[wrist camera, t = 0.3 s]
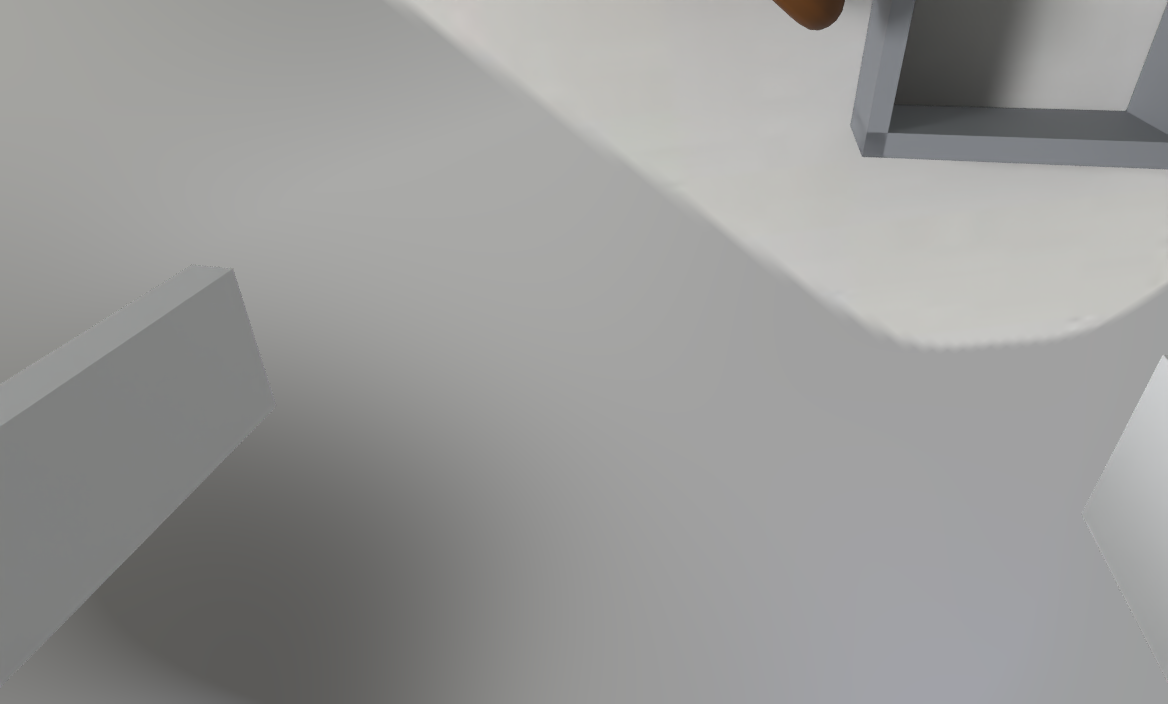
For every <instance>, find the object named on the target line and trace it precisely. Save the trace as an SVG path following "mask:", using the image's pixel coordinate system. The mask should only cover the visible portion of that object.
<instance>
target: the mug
mask: <svg viewBox="0 0 1168 704" xmlns="http://www.w3.org/2000/svg"><path fill="white" fill-rule="evenodd" d="M773 1H774V2H775V3H776V4H777V5H778V6H779V7H780V8H781V9H783V10H784V11H785V12H786V13H787V14H788V15H789V16H790V17H791V18H793V19H794V20H795V21H796V22H798V23H799V24H800V25H802V26H804V27H806V28H808V29H809V30H821V29H824V28H827V27H829V26H830V25H831V24H832V23H834V22H835V21H836V20H837V19H838V17H839V15H840V14H841V12H842V10H843V6H844V2H845V0H773Z"/></svg>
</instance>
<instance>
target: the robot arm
mask: <svg viewBox="0 0 1168 704" xmlns="http://www.w3.org/2000/svg"><path fill="white" fill-rule="evenodd" d="M275 407H276V403H275V400H274V397H273V393H272V390H271V387H270V384H269V381H268V378H267V375H266V371H265V368H264V365H263V362H262V359H261V356H260V352H259V349H258V346H257V343H256V340H255V337H254V334H253V330H252V327H251V324H250V321H249V318H248V315H247V311H246V308H245V305H244V302H243V299H242V296H241V292H240V289H239V286H238V283H237V280H236V276H235V273H234V270H233V269H232V268H221V267H211V266H200V265H190V266H189V267H187V268H186V269H184V270H182V271H181V272H179V273H178V274H176V275H174V276H173V277H171V278H169V279H168V280H166V281H165V282H163V283H162V284H160V285H158V286H157V287H155V288H153V289H152V290H150V291H149V292H147V293H145V294H144V295H142V296H141V297H139V298H137V299H136V300H134V301H133V302H131V303H129V304H128V305H126V306H125V307H123V308H121V309H120V310H118V311H117V312H115V313H113V314H112V315H110V316H108V317H107V318H105V319H104V320H102V321H100V322H99V323H97V324H96V325H94V326H92V327H91V328H89V329H88V330H86V331H84V332H83V333H81V334H80V335H78V336H76V337H75V338H73V339H72V340H70V341H68V342H67V343H65V344H64V345H62V346H60V347H59V348H57V349H56V350H54V351H52V352H51V353H49V354H48V355H46V356H44V357H43V358H41V359H39V360H38V361H36V362H35V363H33V364H31V365H30V366H28V367H27V368H25V369H24V370H22V371H20V372H19V373H17V374H15V375H14V376H12V377H11V378H9V379H7V380H6V381H4V382H3V383H1V384H0V687H1V686H2V685H3V684H4V683H5V682H6V681H7V680H8V679H9V678H10V677H11V676H12V675H13V674H14V673H15V672H16V671H17V670H18V669H19V668H20V667H21V666H22V665H23V664H24V663H25V662H26V661H27V660H28V659H29V658H30V657H31V656H32V655H33V654H34V653H35V652H36V651H37V650H38V649H39V648H40V647H41V646H42V645H43V644H44V643H45V642H46V640H48V639H49V638H50V636H51V635H52V634H53V633H54V632H55V631H56V630H57V629H58V628H59V627H60V626H61V625H62V624H63V623H64V622H65V621H66V620H67V619H68V618H69V617H70V616H71V615H72V614H73V613H74V612H75V611H76V610H77V609H78V608H79V607H80V606H81V605H82V604H83V603H84V602H85V601H86V600H87V599H88V598H89V597H90V596H91V595H92V594H93V593H94V592H95V591H96V590H97V589H98V588H99V587H100V585H102V583H104V581H105V580H106V579H107V578H108V577H109V576H110V575H111V574H112V573H113V572H114V571H115V570H116V569H117V568H118V567H119V566H120V565H121V564H122V563H123V562H124V561H125V560H126V559H127V558H128V557H129V556H130V555H131V554H132V553H133V552H134V551H135V550H136V549H137V548H138V547H139V546H140V545H141V544H142V543H143V542H144V541H145V540H146V539H147V538H148V537H149V536H150V535H151V534H152V533H153V532H154V531H155V529H156V528H157V527H159V526H160V524H161V523H162V522H163V521H164V520H165V519H166V518H167V517H168V516H169V515H170V514H171V513H172V512H173V511H174V510H175V509H176V508H177V507H178V506H179V505H180V504H181V503H182V502H183V501H184V500H185V499H186V498H187V497H188V496H189V495H190V494H191V493H192V492H193V491H194V490H195V489H196V488H197V486H199V485H200V484H201V483H202V481H204V480H205V479H206V478H207V477H208V476H209V474H211V473H212V471H214V470H215V469H216V467H217V466H218V465H219V464H220V463H221V462H222V461H223V460H224V459H225V458H226V457H227V456H228V455H229V454H230V453H231V452H232V451H233V450H234V449H235V448H236V447H237V446H238V445H239V444H240V443H241V442H242V441H243V440H244V439H245V438H246V437H247V436H248V435H249V434H250V433H251V432H252V431H253V430H254V429H255V428H256V427H257V426H258V425H259V424H260V423H261V422H262V421H263V420H264V418H266V417H267V416H268V415H269V413H271V411H272V410H273V409H274V408H275ZM1081 515H1082V517H1083V518H1084V521H1085V523H1086V525H1087V527H1088V528H1089V530H1090V532H1091V534H1092V536H1093V538H1094V540H1095V542H1096V544H1097V546H1098V548H1099V550H1100V552H1101V554H1102V556H1103V558H1104V560H1105V562H1106V564H1107V566H1108V567H1109V569H1110V571H1111V573H1112V575H1113V577H1114V579H1115V581H1116V583H1117V585H1118V587H1119V589H1120V591H1121V593H1122V595H1123V597H1124V599H1125V601H1126V603H1127V605H1128V607H1129V608H1130V611H1131V612H1132V614H1133V616H1134V618H1135V620H1136V622H1137V624H1138V626H1139V628H1140V630H1141V632H1142V634H1143V636H1144V638H1145V640H1146V642H1147V644H1148V646H1149V648H1150V650H1151V651H1152V653H1153V655H1154V657H1155V659H1156V661H1157V663H1158V665H1159V667H1160V669H1161V671H1162V673H1163V675H1164V677H1165V679H1166V681H1167V683H1168V355H1163V356H1162V358H1161V360H1160V362H1159V363H1158V365H1157V367H1156V369H1155V371H1154V373H1153V375H1152V377H1151V379H1150V381H1149V383H1148V385H1147V387H1146V389H1145V391H1144V393H1143V395H1142V397H1141V399H1140V400H1139V402H1138V404H1137V406H1136V408H1135V410H1134V412H1133V414H1132V416H1131V418H1130V420H1129V422H1128V424H1127V426H1126V428H1125V430H1124V432H1123V434H1122V436H1121V438H1120V439H1119V441H1118V443H1117V445H1116V447H1115V449H1114V451H1113V453H1112V455H1111V457H1110V459H1109V461H1108V463H1107V465H1106V467H1105V469H1104V471H1103V473H1102V475H1101V477H1100V478H1099V480H1098V482H1097V484H1096V486H1095V488H1094V490H1093V492H1092V494H1091V496H1090V498H1089V500H1088V502H1087V504H1086V506H1085V508H1084V510H1083V512H1082V514H1081Z"/></svg>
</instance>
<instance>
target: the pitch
mask: <svg viewBox="0 0 1168 704" xmlns="http://www.w3.org/2000/svg"><path fill="white" fill-rule="evenodd" d="M914 4H915V0H873V2H872V8H871V14H870V19H869V25H868V30H867V36H866V42H865V47H864V53H863V58H862V64H861V70H860V75H859V81H858V86H857V92H856V98H855V103H854V109H853V114H852V120H851V125H850V126H851V129H852V131H853V134H854V136H855V139H856V142H857V144H858V147H859V150H860V152H861V155H862V157H881V158H905V159H929V160H953V161H978V162H1002V163H1026V164H1050V165H1075V166H1099V167H1123V168H1147V169H1168V3H1167V6H1166V8H1165V11H1164V14H1163V16H1162V19H1161V21H1160V24H1159V27H1158V29H1157V32H1156V35H1155V37H1154V40H1153V42H1152V45H1151V48H1150V50H1149V53H1148V56H1147V58H1146V61H1145V63H1144V66H1143V69H1142V71H1141V74H1140V76H1139V79H1138V82H1137V84H1136V87H1135V90H1134V92H1133V95H1132V97H1131V100H1130V103H1129V105H1128V108H1127V111H1100V110H1063V109H1026V108H990V107H953V106H916V105H894V101H895V96H896V91H897V86H898V81H899V77H900V72H901V67H902V62H903V57H904V52H905V48H906V43H907V38H908V33H909V28H910V24H911V19H912V14H913V9H914Z"/></svg>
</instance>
